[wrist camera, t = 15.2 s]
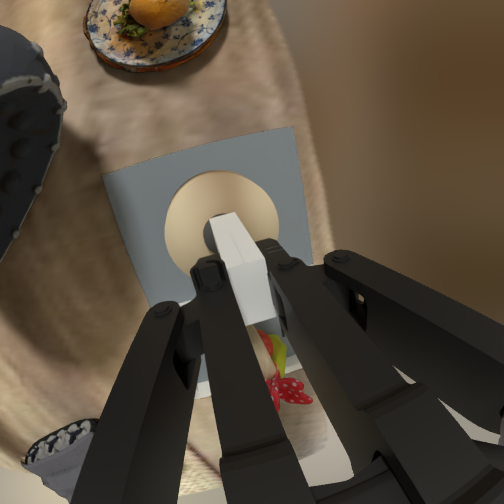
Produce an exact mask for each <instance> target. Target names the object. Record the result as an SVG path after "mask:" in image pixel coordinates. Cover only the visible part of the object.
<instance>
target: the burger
mask: <svg viewBox="0 0 504 504" xmlns="http://www.w3.org/2000/svg"><path fill="white" fill-rule="evenodd" d="M226 10H227V0H92V1H91V2H90V4H89V8H88V10H87V13H86V14H85V16H84V21H83V28H84V34H85V36H86V37H87V39H88V40H89V41H90V45H91V47H92V48H93V49H95V50H96V53H97V54H98V55H97V56H99V57H100V58H101V59H102V60H103V61H105V62H106V63H108V64H110V65H111V66H113V67H115V68H117V69H122V70H125V71H128V72H134V71H135V72H145V71H163V70H166V69H171V68H173V67H176V66H177V65H179V64H181V63H183V62H186V61H189V60H191V59H192V58H194V57H196V56H198V55H199V54H200V53H201V52H202V51H203V50H205V49H206V48H207V47H208V46H209V45H210V44H211V43H212V41H213V40H214V39H215V38H216V37H217V35H218V33H219V31H220V29H221V28H222V25H223V22H224V19H225V14H226Z"/></svg>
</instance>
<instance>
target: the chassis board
mask: <svg viewBox="0 0 504 504" xmlns="http://www.w3.org/2000/svg"><path fill="white" fill-rule="evenodd" d="M210 170H228V171H233V172H236V173H239V174H241V175H243V176H245V177H246V178H248V179H249V180H251V181H252V182H254V183H255V184H257V185H258V186H259V187H261V188H262V189H263V190H264V191H265V192H266V193H267V195H268V196H269V197H270V199H271V200H272V202H273V204H274V206H275V208H276V211H277V215H278V220H279V234H278V240H277V241H278V243H279V244H280V245H281V246H282V247H283V249H284V250H285V251H286V252H287V253H288V254H289V256H290V257H296V258H299V259H301V260H302V261H303V262H304V263H305V264H306V265H307V266H313V265H314V264H313V256H312V248H311V240H310V232H309V225H308V218H307V210H306V204H305V197H304V190H303V184H302V177H301V171H300V165H299V159H298V153H297V148H296V142H295V136H294V131H293V127H285V128H279V129H273V130H268V131H263V132H258V133H253V134H248V135H243V136H238V137H234V138H229V139H225V140H220V141H216V142H212V143H208V144H204V145H200V146H196V147H192V148H189V149H185V150H181V151H178V152H174V153H171V154H167V155H164V156H160V157H157V158H154V159H150V160H147V161H144V162H141V163H138V164H135V165H132V166H129V167H126V168H123V169H120V170H117V171H114V172H111V173H109V174H106V175H104V176H102V177H103V180H104V184H105V187H106V190H107V194H108V197H109V200H110V203H111V206H112V209H113V212H114V215H115V218H116V221H117V224H118V227H119V230H120V233H121V235H122V238H123V241H124V244H125V246H126V249H127V252H128V254H129V257H130V260H131V262H132V265H133V267H134V270H135V272H136V275H137V277H138V280H139V282H140V284H141V287H142V289H143V292H144V294H145V296H146V298H147V301H148V303H149V305H150V308H151V307H153V306H154V305H155V304H157V303H159V302H164V301H175V302H177V303H178V304H179V305H180V307H181V306H183V305H185V304H187V303H188V302H190V301H191V300H193V299H194V298H195V297H196V290H195V287H194V284H193V281H192V278H191V277H190V276H188V275H187V274H185V273H184V272H183V271H182V270H181V269H179V268H178V267H177V265H176V264H175V263H174V261H173V260H172V258H171V256H170V254H169V252H168V250H167V246H166V242H165V222H166V216H167V211H168V207H169V204H170V201H171V199H172V197H173V195H174V194H175V192H176V191H177V190H178V189H179V187H180V186H181V185H182V184H183V183H185V182H186V181H187V180H188V179H190V178H191V177H193V176H195V175H197V174H199V173H202V172H205V171H210ZM275 312H276V317H274V318H270V319H267V320H264V321H261V322H257V323H254V324H253V326H254V327H255V329H258V330H261V331H263V332H265V333H266V334H267V335H269V334H276V335H278V336H279V337H280V339H281V341H282V343H284V344H285V345H286V346H287V353H286V367H285V374H286V373H289V372H292V371H295V370H298V369H301V368H302V366H301V364H300V362H299V360H298V358H297V356H296V354H295V352H294V350H293V348H292V346H291V344H290V342H289V340H288V338H287V337H286V335H285V337H283V338H282V332H281V327H280V322H279V317H278V313H277V311H276V309H275ZM207 396H211V392H210V386H209V380H208V374H207V368H206V361H205V355H204V354H203V355H201V366H200V371H199V377H198V382H197V387H196V393H195V398H194V400H195V399H199V398H203V397H207Z"/></svg>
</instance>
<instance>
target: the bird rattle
mask: <svg viewBox="0 0 504 504" xmlns="http://www.w3.org/2000/svg"><path fill="white" fill-rule="evenodd" d="M246 329H247V332H248V334H249V337H250V340H251V343H252V346H253V348H254V351H255V354H256V357H257V359H258V362H259V365H260V368H261V370H262V373H263V376H264V378H265V381H266V384H267V386H268V389H269V392H270V394H271V397H272V400H273V402H274V405H275V408H276V410H277V413H278V412H279V410H280V399H279V398H281V399H283V400H284V401H286V402H288V403H296V404H311V403H312V402H313V400H312V398H310V397H309V396H307V395H306V394H304V393H303V389H304V384H303V383H302V382H301V381H299V380H296V379H294V378H283V377H284V375H285V367H286V353H287V346H286V345H285V344H284V343H282V341H281V339H280V337H279V336H278V335H276V334H269V335H267V334H266V333H265V332H263V331H261V330H258V329H255V327H254V326H253V324H251V325H247V326H246ZM282 378H283V379H282Z"/></svg>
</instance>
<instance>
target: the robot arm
mask: <svg viewBox="0 0 504 504" xmlns="http://www.w3.org/2000/svg"><path fill="white" fill-rule="evenodd" d="M209 221H210V225H211V228H212V232H213V236H214V240H215V243H216V247H217V251H218V253H216V254H212V255H209V256H205V257H202V258H199V259H198V261H197V262H196V264H195V265H194V266H193V267H192V268H191V269H190V275H191V278H192V281H193V284H194V287H195V290H196V297H195V298H194V299H193V300H191V301H190V302H188V303H187V304H185V305H183V306H181V307H180V305H179V304H178V303H177V302H175V301H164V302H159V303H157V304H155V305H154V306H153V307H151V308H150V309H149V310H148V312H147V313H146V315H145V317H144V319H143V321H142V323H141V325H140V327H139V330H138V332H137V334H136V336H135V338H134V340H133V342H132V345H131V347H130V349H129V351H128V353H127V355H126V358H125V360H124V362H123V364H122V367H121V369H120V371H119V374H118V376H117V378H116V380H115V383H114V385H113V387H112V390H111V392H110V395H109V397H108V399H107V402H106V404H105V407H104V409H103V412H102V414H101V417H100V419H99V422H98V424H97V427H96V429H95V432H94V435H93V437H92V440H91V443H90V445H89V448H88V451H87V454H86V456H85V459H84V462H83V465H82V468H81V471H80V474H79V477H78V480H77V483H76V486H75V489H74V492H73V495H72V498H71V502H70V504H177V500H178V493H179V487H180V480H181V474H182V468H183V462H184V456H185V450H186V444H187V438H188V432H189V426H190V421H191V415H192V409H193V404H194V398H195V393H196V387H197V382H198V377H199V371H200V366H201V355H203V354H204V355H205V361H206V368H207V374H208V380H209V386H210V392H211V397H212V403H213V408H214V414H215V419H216V424H217V430H218V435H219V440H220V444H221V449H222V457H221V458H220V460H219V466H220V473H221V477H222V482H223V487H224V491H225V495H226V500H227V504H504V326H503V325H501V324H500V323H498V322H496V321H494V320H492V319H490V318H488V317H487V316H485V315H483V314H481V313H479V312H477V311H475V310H473V309H471V308H469V307H467V306H465V305H463V304H461V303H459V302H457V301H455V300H453V299H451V298H449V297H447V296H445V295H443V294H441V293H439V292H437V291H435V290H433V289H431V288H429V287H427V286H425V285H423V284H421V283H419V282H417V281H415V280H413V279H411V278H409V277H406V276H404V275H402V274H400V273H398V272H396V271H394V270H392V269H389V268H387V267H385V266H383V265H381V264H379V263H377V262H374V261H372V260H370V259H368V258H366V257H363V256H361V255H359V254H357V253H355V252H352V251H349V250H335V251H333V252H330V253H328V254H327V255H325V257H324V258H323V259H324V264H322V265H313V266H307V265H306V264H305V263H304V262H303V261H302V260H301V259H299V258H296V257H290V256H289V254H288V253H287V252H286V251H285V250H284V249H283V247H282V246H281V245H280V244H279V243H278V241H277V240H274V239H271V238H267V239H263V240H260V241H256V242H254V241H253V239H252V238H251V236H250V235H249V233H248V232H247V230H246V229H245V227H244V225H243V224H242V222H241V221H240V219H239V218H238V216H237V215H236V213H235V212H233V213H229V214H225V215H221V216H218V217H214V218H210V219H209ZM359 294H360V295H361V296H363V298H364V302H362V301H360V300H359ZM275 309H276V311H277V313H278V317H279V322H280V327H281V332H282V338H283V337H285V335H286V337H287V338H288V340H289V342H290V344H291V346H292V348H293V350H294V352H295V354H296V356H297V358H298V360H299V362H300V364H301V366H302V368H303V370H304V371H305V373H306V375H307V377H308V379H309V381H310V383H311V385H312V387H313V389H314V391H315V393H316V395H317V397H318V398H319V400H320V402H321V404H322V406H323V408H324V410H325V412H326V414H327V416H328V418H329V419H330V422H331V423H332V425H333V427H334V429H335V431H336V433H337V435H338V437H339V439H340V441H341V442H342V444H343V446H344V448H345V450H346V452H347V454H348V456H349V459H350V461H351V466H352V470H353V473H354V477H352V478H351V479H349V480H347V481H343V482H338V483H332V484H325V485H319V486H311V487H309V486H308V483H307V481H306V479H305V477H304V474H303V472H302V469H301V467H300V464H299V462H298V459H297V457H296V454H295V452H294V449H293V447H292V445H291V443H290V441H289V439H288V438H287V436H286V433H285V431H284V428H283V426H282V423H281V421H280V418H279V416H278V413H277V410H276V408H275V405H274V402H273V400H272V397H271V394H270V392H269V389H268V386H267V384H266V381H265V378H264V376H263V373H262V370H261V368H260V365H259V362H258V359H257V357H256V354H255V351H254V348H253V346H252V343H251V340H250V337H249V334H248V332H247V329H246V326H247V325H251V324H254V323H257V322H261V321H264V320H267V319H270V318H274V317H276V312H275ZM393 366H395V367H396V368H398V369H399V370H400V371H401V372H403V373H404V374H406V375H407V376H408V377H410V378H411V379H413V380H414V381H415V382H416V383H414V384H409V383H407V382H406V381H405V380H404V379H403V378H402V377H401V375H400V374H399V373H398V372H397V370H396V369H395V368H394V367H393ZM438 398H439V399H440V400H441V401H443V402H444V403H445V404H447V405H448V406H450V407H451V408H452V409H454V410H455V411H456V412H458V413H459V414H461V415H462V416H463V417H465V418H466V419H468V420H469V421H471V422H472V423H474V424H476V425H477V426H479V427H481V428H484V429H486V430H488V431H490V432H493V433H496V434H500V435H501V437H500V438H499V445H496V444H491V443H487V442H482V441H477V440H473V439H471V438H470V437H469V436H468V435H467V433H466V432H465V431H464V430H463V428H462V427H461V426H460V425H459V423H458V422H457V421H456V420H455V418H454V417H453V416H452V415H451V414H450V412H449V411H448V410H447V409H446V408H445V406H444V405H443V404H442V403H441V402H440V401H439V399H438Z"/></svg>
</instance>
